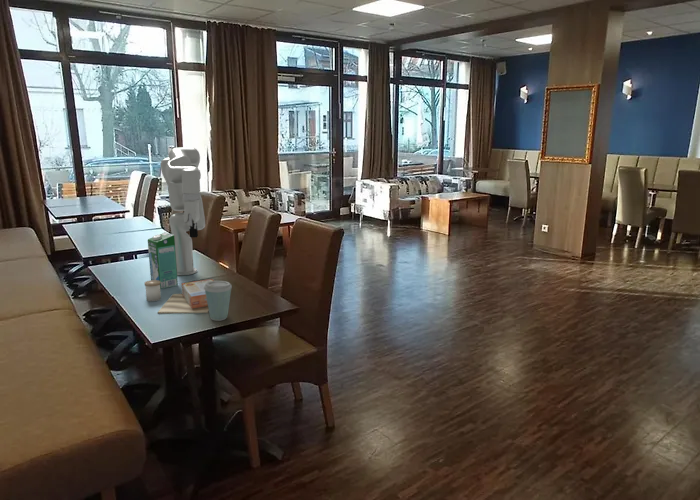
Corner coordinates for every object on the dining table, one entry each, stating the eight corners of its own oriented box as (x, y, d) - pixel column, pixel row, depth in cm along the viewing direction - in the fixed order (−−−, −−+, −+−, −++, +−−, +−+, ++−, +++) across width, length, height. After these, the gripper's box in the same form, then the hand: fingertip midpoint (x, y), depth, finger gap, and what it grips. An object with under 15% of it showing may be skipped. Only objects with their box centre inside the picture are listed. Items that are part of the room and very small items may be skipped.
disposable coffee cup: (215, 312, 203) (213, 277, 200) (238, 315, 200) (236, 280, 197) (200, 321, 194) (198, 284, 190) (224, 324, 191) (222, 287, 187)
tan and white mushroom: (148, 296, 221) (147, 280, 219) (163, 296, 221) (162, 280, 219) (143, 301, 214) (142, 284, 212) (159, 301, 215) (157, 284, 213)
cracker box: (182, 295, 222) (191, 309, 204) (181, 282, 221) (190, 295, 203) (213, 290, 228) (225, 304, 211) (212, 278, 227) (224, 290, 209)
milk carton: (151, 285, 237) (146, 234, 231) (168, 281, 243) (165, 231, 237) (160, 289, 231) (156, 237, 225) (178, 285, 237) (174, 234, 231)
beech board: (173, 295, 223) (173, 293, 223) (217, 294, 225) (217, 293, 224) (157, 313, 201) (157, 312, 201) (207, 312, 202) (207, 311, 202)
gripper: (187, 194, 224) (189, 233, 229) (178, 199, 210) (181, 241, 215) (203, 194, 225) (205, 233, 230) (196, 199, 211) (198, 241, 215)
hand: (193, 236), depth 222 cm, fingers closed
